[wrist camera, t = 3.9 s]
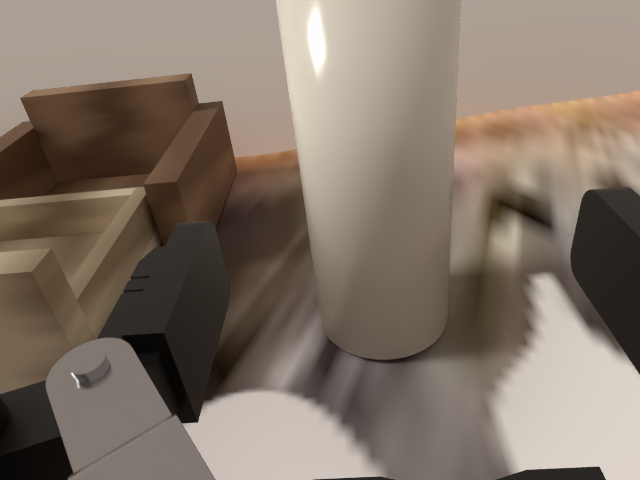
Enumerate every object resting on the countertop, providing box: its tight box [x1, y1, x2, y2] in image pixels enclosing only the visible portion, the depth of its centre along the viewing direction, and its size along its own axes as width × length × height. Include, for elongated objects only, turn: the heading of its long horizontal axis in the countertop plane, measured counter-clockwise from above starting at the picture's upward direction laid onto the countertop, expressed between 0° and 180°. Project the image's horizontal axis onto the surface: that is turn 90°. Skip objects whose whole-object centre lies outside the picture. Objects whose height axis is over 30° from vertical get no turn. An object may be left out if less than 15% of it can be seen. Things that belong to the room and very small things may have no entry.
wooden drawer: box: [0, 187, 162, 394], centre depth 21 cm, size 12×11×7 cm
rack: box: [0, 74, 237, 247], centre depth 29 cm, size 14×12×7 cm
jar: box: [276, 0, 461, 360], centre depth 17 cm, size 6×6×15 cm
